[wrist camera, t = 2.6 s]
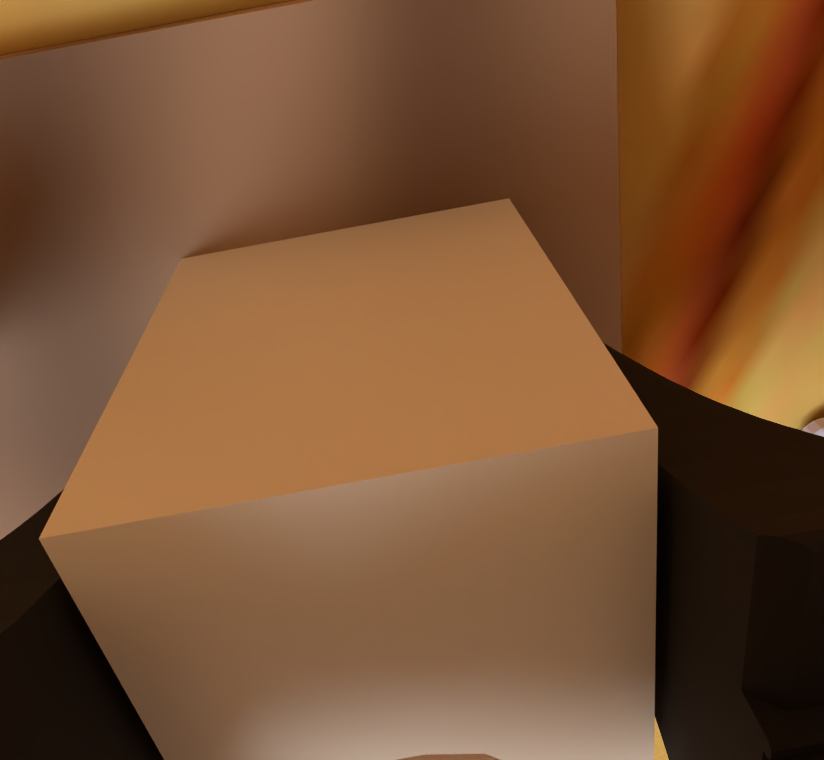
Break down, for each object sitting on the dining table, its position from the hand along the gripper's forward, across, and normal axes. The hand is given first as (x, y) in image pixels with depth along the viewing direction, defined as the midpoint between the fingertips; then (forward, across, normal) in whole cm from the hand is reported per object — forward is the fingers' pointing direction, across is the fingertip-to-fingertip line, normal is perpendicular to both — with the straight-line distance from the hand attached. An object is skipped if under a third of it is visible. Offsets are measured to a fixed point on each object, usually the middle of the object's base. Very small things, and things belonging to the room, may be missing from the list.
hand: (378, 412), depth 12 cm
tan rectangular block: (+1, 0, 0) cm, 1 cm away
